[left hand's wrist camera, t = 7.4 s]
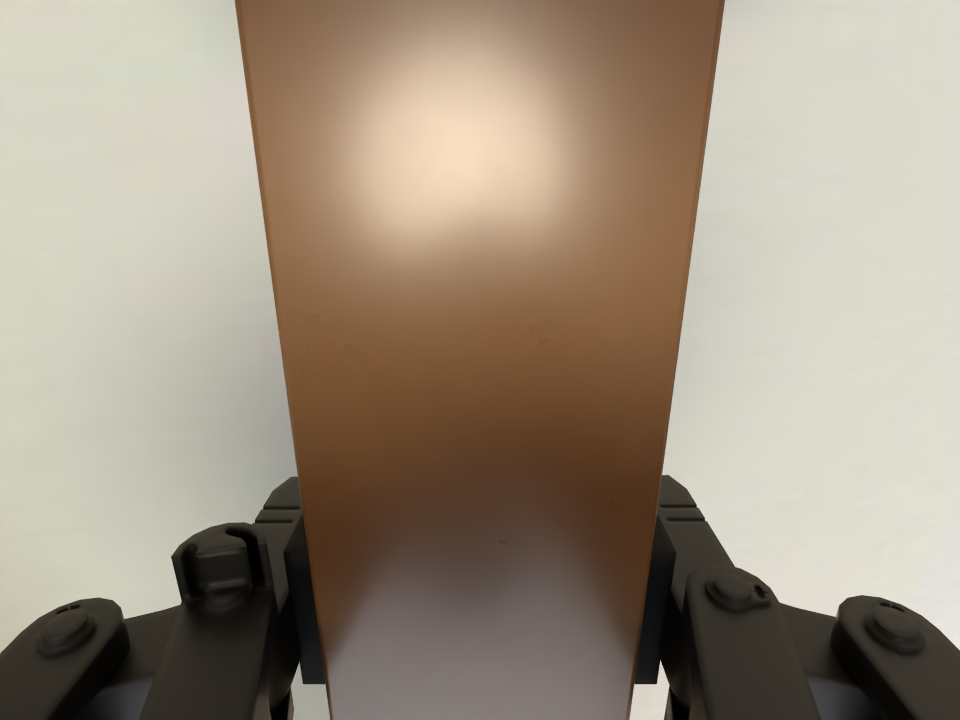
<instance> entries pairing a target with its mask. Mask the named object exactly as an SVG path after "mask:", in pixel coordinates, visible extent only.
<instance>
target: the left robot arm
mask: <svg viewBox="0 0 960 720" xmlns="http://www.w3.org/2000/svg"><path fill="white" fill-rule="evenodd" d="M171 558H172V562H173V566H174V570H175V575H176V579H177V583H178V587H179V591H180V595H181V600H182V602H181V605H179V606H175V607H172V608H169V609H166V610H162V611H158V612H153V613H149V614H145V615H141V616H137V617H132V618H128V619H124V617H123V614H122V610H121V607H119V606H118V605H117V604H116V603H115V602H114V601H113V600H108V599H103V598H92V599H84V600H78V601H75V602H72V603H69V604H66V605H63V606H61V607H58V608H56V609H54V610H53V611H51V612H49V613H47V614H45V615H43V616H42V617H40V618H38V619H37V620H36V621H34V622H33V623H32V624H31V625H30V626H28V627H27V628H26V629H25V630H23V631H22V632H21V633H20V634H19V635H18V636H17V637H16V638H15V639H14V640H13V641H12V642H11V643H10V644H9V645H8V646H7V647H6V648H5V649H4V650H3V651H2V652H1V653H0V720H293V712H294V706H293V699H292V692H291V684H292V681H293V678H294V675H295V672H296V670H297V667H298V664H299V661H300V667H301V674H302V680H303V684H326V683H325V676H324V668H323V660H322V653H321V645H320V638H319V630H318V623H317V615H316V608H315V600H314V593H313V585H312V578H311V570H310V563H309V555H308V548H307V540H306V533H305V525H304V518H303V510H302V503H301V495H300V488H299V480H298V477H290V478H289V479H288V480H287V481H285V482H284V483H283V484H281V485H280V486H279V487H277V488H276V489H275V490H273V492H272V493H271V495H270V497H269V498H268V500H267V501H266V503H265V505H264V506H263V510H261V511H260V513H259V514H258V516H257V518H256V519H255V523H253V524H248V523H226V524H222V525H217V526H213V527H210V528H208V529H205V530H203V531H201V532H199V533H196V534H194V535H193V536H191V537H190V538H189V539H187V540H186V541H185V542H183V543H182V544H181V545H179V547H178V548H177V550H176V551H175V552H174V554H173V555H172V556H171ZM660 660H661V662H662V665H663V668H664V671H665V674H666V676H667V679H668V682H669V685H670V686H669V692H668V698H667V704H666V710H665V716H664V720H960V650H959V649H958V648H957V647H956V646H955V645H954V644H953V643H952V642H951V641H950V640H949V639H948V638H947V637H946V636H945V635H944V634H943V633H942V632H941V631H940V630H939V629H938V628H936V627H935V626H934V625H933V624H931V623H930V622H929V621H928V620H926V619H925V618H924V617H923V616H921V615H919V614H918V613H916V612H914V611H912V610H910V609H908V608H907V607H905V606H903V605H901V604H898V603H895V602H892V601H889V600H886V599H883V598H880V597H871V596H863V595H861V596H855V597H850V598H847V599H846V600H845V601H844V602H843V603H841V604H840V605H839V608H838V612H837V615H836V617H833V616H829V615H824V614H820V613H816V612H812V611H807V610H803V609H799V608H795V607H792V606H789V605H785V604H782V603H780V602H779V601H778V600H777V598H776V596H775V595H774V593H773V592H772V590H771V588H770V587H768V586H767V585H766V584H765V583H764V582H762V581H761V580H760V579H759V578H758V577H756V576H754V575H752V574H750V573H748V572H746V571H744V570H742V569H740V568H736V567H735V566H734V564H733V563H732V561H731V560H730V558H729V556H728V555H727V553H726V552H725V550H724V548H723V547H722V545H721V543H720V542H719V540H718V539H717V537H716V535H715V534H714V532H713V531H712V529H711V527H710V526H709V524H708V522H707V521H705V518H704V516H703V514H702V513H701V511H700V510H699V508H697V505H696V503H695V501H694V500H693V498H692V497H691V495H690V493H689V492H688V490H687V489H686V488H685V487H684V486H682V485H681V484H680V483H678V482H677V481H676V480H674V479H673V478H672V477H670V476H669V475H662V478H661V486H660V493H659V501H658V508H657V516H656V523H655V531H654V538H653V546H652V553H651V561H650V568H649V576H648V583H647V591H646V599H645V606H644V614H643V621H642V629H641V636H640V644H639V651H638V659H637V666H636V674H635V681H634V684H657V678H658V671H659V665H660Z"/></svg>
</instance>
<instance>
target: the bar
mask: <svg viewBox="0 0 960 720" xmlns="http://www.w3.org/2000/svg"><path fill="white" fill-rule="evenodd" d="M724 4H725V0H235V6H236V14H237V21H238V29H239V36H240V44H241V51H242V59H243V66H244V74H245V82H246V89H247V97H248V104H249V112H250V119H251V127H252V134H253V142H254V149H255V157H256V164H257V172H258V179H259V187H260V194H261V202H262V209H263V217H264V224H265V232H266V239H267V247H268V254H269V262H270V269H271V277H272V285H273V292H274V300H275V307H276V315H277V322H278V330H279V337H280V345H281V352H282V360H283V367H284V375H285V382H286V390H287V397H288V405H289V412H290V420H291V427H292V435H293V442H294V450H295V457H296V465H297V472H298V480H299V488H300V495H301V503H302V510H303V518H304V525H305V533H306V540H307V548H308V555H309V563H310V570H311V578H312V585H313V593H314V600H315V608H316V615H317V623H318V630H319V638H320V645H321V653H322V660H323V668H324V676H325V683H326V691H327V698H328V706H329V713H330V720H629V719H630V711H631V704H632V696H633V689H634V681H635V674H636V666H637V659H638V651H639V644H640V636H641V629H642V621H643V614H644V606H645V599H646V591H647V583H648V576H649V568H650V561H651V553H652V546H653V538H654V531H655V523H656V516H657V508H658V501H659V493H660V486H661V478H662V471H663V463H664V456H665V448H666V440H667V433H668V425H669V418H670V410H671V403H672V395H673V388H674V380H675V373H676V365H677V358H678V350H679V343H680V335H681V328H682V320H683V312H684V305H685V297H686V290H687V282H688V275H689V267H690V260H691V252H692V245H693V237H694V230H695V222H696V215H697V207H698V200H699V192H700V185H701V177H702V169H703V162H704V154H705V147H706V139H707V132H708V124H709V117H710V109H711V102H712V94H713V87H714V79H715V72H716V64H717V57H718V49H719V41H720V34H721V26H722V19H723V11H724Z"/></svg>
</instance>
